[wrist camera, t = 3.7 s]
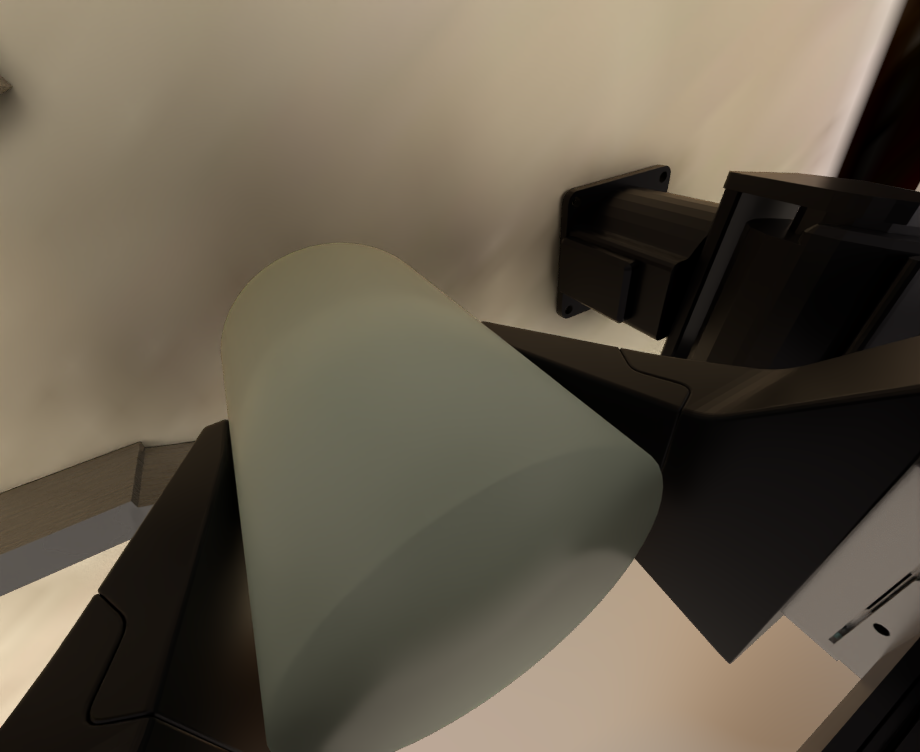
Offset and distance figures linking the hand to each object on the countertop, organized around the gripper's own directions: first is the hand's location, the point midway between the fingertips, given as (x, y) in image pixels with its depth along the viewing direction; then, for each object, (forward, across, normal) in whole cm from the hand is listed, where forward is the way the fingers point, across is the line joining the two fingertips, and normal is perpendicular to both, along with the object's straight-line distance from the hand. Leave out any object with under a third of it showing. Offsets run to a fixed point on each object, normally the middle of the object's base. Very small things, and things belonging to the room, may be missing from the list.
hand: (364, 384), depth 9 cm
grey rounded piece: (+2, 0, 0) cm, 2 cm away
